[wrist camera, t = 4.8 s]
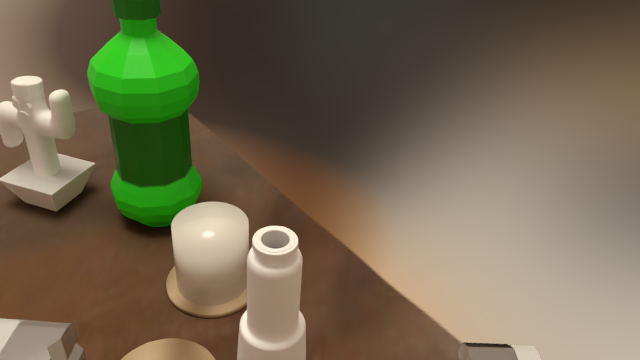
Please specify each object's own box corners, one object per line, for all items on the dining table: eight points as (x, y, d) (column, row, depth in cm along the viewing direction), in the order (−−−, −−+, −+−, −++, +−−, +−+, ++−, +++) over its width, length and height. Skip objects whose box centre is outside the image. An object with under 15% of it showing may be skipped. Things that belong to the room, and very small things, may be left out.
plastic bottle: (223, 214, 63) (215, -3, 49) (144, 254, 56) (110, 17, 43) (173, 179, 68) (153, -25, 55) (95, 212, 62) (51, -11, 48)
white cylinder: (169, 303, 50) (162, 246, 46) (185, 254, 56) (180, 199, 52) (244, 307, 50) (243, 250, 47) (252, 257, 56) (252, 203, 52)
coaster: (156, 315, 50) (156, 311, 49) (178, 251, 57) (177, 247, 57) (253, 320, 50) (253, 316, 50) (262, 256, 57) (262, 252, 57)
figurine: (43, 173, 68) (14, 59, 59) (107, 190, 65) (87, 75, 57) (-3, 204, 62) (-41, 82, 54) (66, 224, 60) (37, 101, 51)
